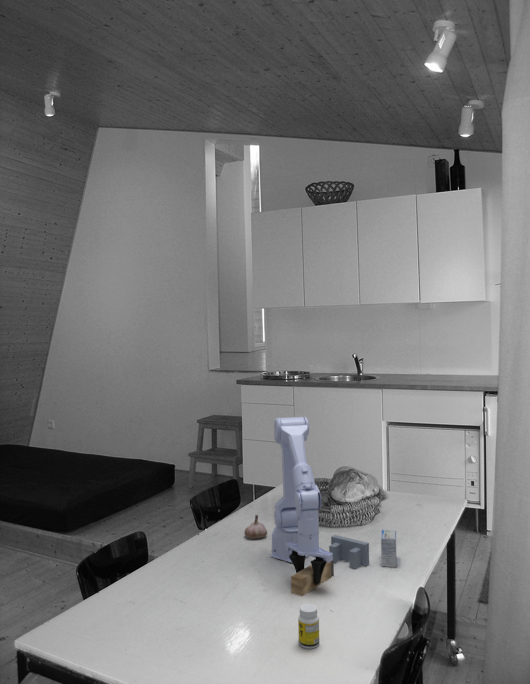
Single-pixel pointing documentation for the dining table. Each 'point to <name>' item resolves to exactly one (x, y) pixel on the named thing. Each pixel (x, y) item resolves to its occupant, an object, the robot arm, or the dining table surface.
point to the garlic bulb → (255, 530)
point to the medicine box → (388, 548)
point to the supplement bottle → (308, 626)
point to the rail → (309, 579)
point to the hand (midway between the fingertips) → (309, 581)
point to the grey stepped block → (349, 551)
